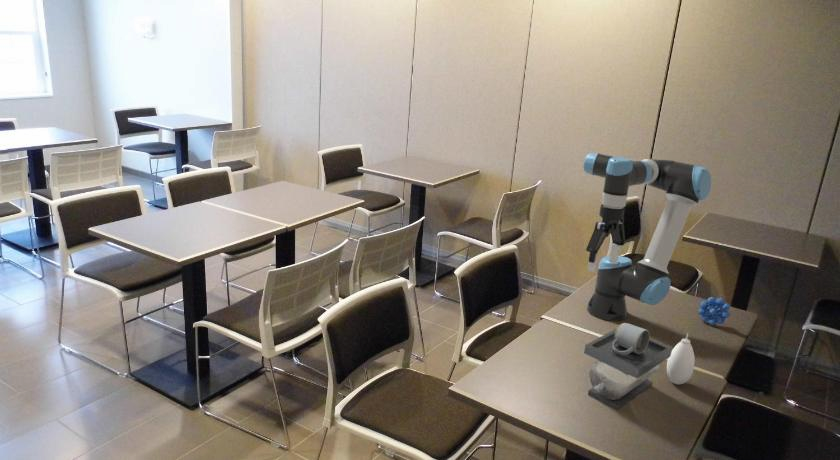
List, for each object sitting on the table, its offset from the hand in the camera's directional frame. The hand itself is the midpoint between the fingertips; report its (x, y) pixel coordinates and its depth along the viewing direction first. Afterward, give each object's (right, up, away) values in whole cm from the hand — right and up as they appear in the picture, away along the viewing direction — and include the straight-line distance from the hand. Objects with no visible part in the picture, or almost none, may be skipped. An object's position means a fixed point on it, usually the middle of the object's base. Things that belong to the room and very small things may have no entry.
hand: (602, 266), depth 202 cm
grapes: (+53, -25, +35) cm, 68 cm away
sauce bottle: (+21, -37, -8) cm, 43 cm away
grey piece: (+1, -37, -15) cm, 40 cm away
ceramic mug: (+2, -24, -19) cm, 31 cm away
